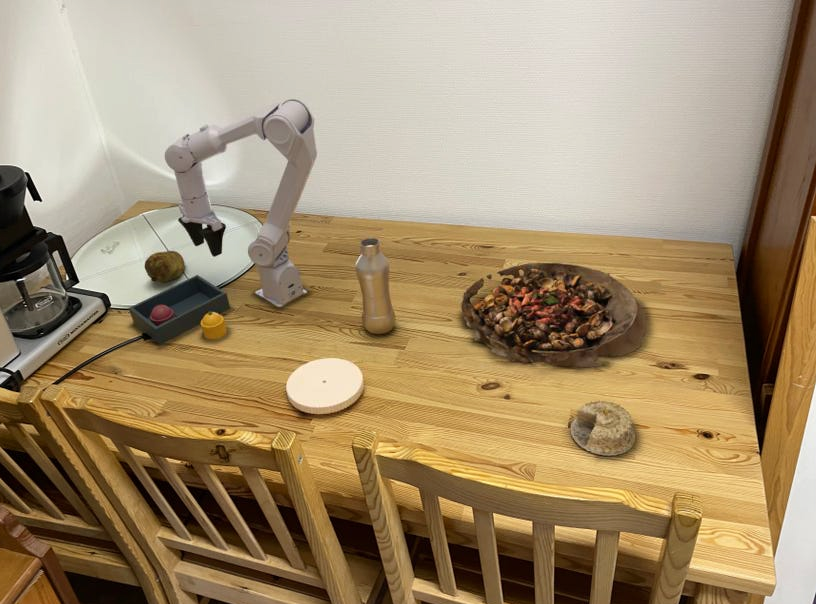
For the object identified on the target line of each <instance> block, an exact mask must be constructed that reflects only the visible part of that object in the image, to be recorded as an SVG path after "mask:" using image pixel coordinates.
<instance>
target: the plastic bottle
mask: <svg viewBox="0 0 816 604" xmlns="http://www.w3.org/2000/svg"><path fill="white" fill-rule="evenodd" d="M381 251H382V248H381V242H380V239H378V238H376V237H367V238H363V239H362V240H360V242H359V253H360V255H359V256H358V258H357V260H356V262H355V268H354V269H355V274H356V277H357V280H358V284H359V287H360V291H361V297H362V315H361V318H362V319H361V320H362V324H363V326H364V329H366V330H367V332H368V333H370V334H373V335H383V334H387V333H389V332H391V331H392V330H393V328H394V327H395V325H396V317H397V316H396V313H395V309H394V307H393V303H392V300H391V299H392V298H391V295H390V263H389V260H388V259H387V258H386V257H385V254H383V253H382V252H381Z"/></svg>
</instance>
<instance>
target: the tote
mask: <svg viewBox="0 0 816 604" xmlns="http://www.w3.org/2000/svg"><path fill="white" fill-rule="evenodd" d="M158 305H166V306H168V307H169V308H170V309H172V310H173V312H174V315H176V316H177V317H175V318H173V319H171V320H169V321H167V322H165V323H163V324H161V325H159V326H156V325H154V324H153V323H152V322H151V319H150V315H151V312H152V310H153V308H154V307H156V306H158ZM230 309H231V305H230V301H229V297H228V294H227V292H226V291H224V290H222V289H220V288H219V287H218V286H216V285H214V284H213V283H211V282H210V281H208V280H206V279H205V278H203V277H201V275H199V274H196V275H193V276H191V277H189V278H188V279H186V280H184V281H181V282H178V283H177V284H175V285H173V286H171V287H168V288H167V289H165V290H162V291H160V292H159V293H156V294H155V295H152V296H150V297H149V298H145V299H144V300H142V301H140V302H138V303H136V304H134V305H131V306H130V307H128V311H129V313H130V316H131V318H132V322H133V324H134V325H135V326H136V327H138V328H139V329H140V330H141V331H143V332H144V333H145V334H146V335H148V336H149V337H150V338H151V339H152V340H154V341H155V342H156V343H157V344H159V345H160V346H161V345H164V344H165V343H167V342H169V341H172V340H173V339H175V338H177V337H178V336H181V335H183V334H184V333H187V332H188V331H191V330H192V329H194V328H196V327H198V326H201V320H202V319H203V317H204V316H205V315H206V314H207V313H208V312H209V311H211V312H215V313H218V314H219V315H222V314H223V313H225V312H227V311H228V310H230Z"/></svg>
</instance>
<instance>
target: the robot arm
mask: <svg viewBox="0 0 816 604" xmlns="http://www.w3.org/2000/svg"><path fill="white" fill-rule="evenodd" d="M314 127H315V117H314V116H313V114H312V112H311V110H310V109H309V107H308V105H307V104H306V103H305V102H304V101H302V100H300V99H299V98H298V99H297V98H289V99H286V100H285V101H284V102H282V104H281V102H275V103H273V104H271V105H269V106H266V107H263V108H261V109H259V110H256V111H254V112H253V113H250V114H249V115H246V116H244V117H242V118H240V119H238V120H236V121H233V122H232V123H230V124H228V125H226V126H224V127H220V126H219V125H216V124H212V125H210V126H209V124H207V123H206V124H204V125H202V126H200V127H199V130H198V131H196V132H193V133H192V134H189V133H186V134H184V135H182V136H181V137H179V138H178V139H177V140H176V141H174V142H173V143H172V144H171V145H169V146H168V147H167V148H166V150H165V151H164V161H165V163H166V165H167V166H168V167H169V169H171V170H173V171H174V176H175V179H176V183H177V187H178V191H179V195H180V198H181V204H178V209H179V213H180V214H181V215H182V216H180V217H179V218H178V219H177V222H178V223H179V224H180V225H181V226H182V227H183V228H184V230H185V231H186V232H187V234H188V236H189V238H190V239H191V241H192V243H193V245H194V246H195V247H199V246H202V245H203V244H204V243H206V244H207V247H208V250H209V252H210V254H211V256H212V257H214V258H215V257H218V256H219V255H222V253H223V239H224V234H225V231H226V228H227V226H226V223H224V222H222V221H221V219H220V218H218V216H217V214H216V213H215V211H214V208H212V203H211V200H210V196H209V191H208V188H207V184H206V179H205V175H204V170H203V167H202V166H203V164H202V162H204V161H207V160H210V159H212V158H214V157H216V156H219V155H222V154H223V153H226V152H227V150H228V148H229V144H231V143H235V142H238V141H240V140H243V139H246V138H248V137H251V136H254V135H257V136H258V138H260V139H261V140H262V141H266V140H268V142H269V143H271V145H272V147H274V148H276V150H277V151H278V152H279V153H280V154H281V155H282V156H283V157H284V158H285V159H286V160H287V163H286V166H285V168H284V171H283V174H282V176H281V179H280V181H279V184H278V187H277V189H276V192H275V194H274V197H273V199H272V202H271V205H270V208H269V211H268V213H267V216H266V219H265V221H264V223H263V225H262V227H261V228H260V230H259V232H258V234H257V236H256V238H255V239H254V240H253V241H251V243H250V244H249V245H248V247H247V254H248V257H249V259H250V260H251V261H252V263H253V264H254V265H256V268H257V271H258V272H257V273H258V277H259V281H260V282H259V283H260V286H261V288H260V289H258V290H256V291H255V294H256V295H258V296H259V297H261V298H263V299H265V300H266V301H268V302H269V303H271V304H273V305H274V306H276V307H278V308H280V307H283V306H284V305H286V304H288V303H289V302H291V301H293V300H295V299H297V298H299V297H300V296H302V295H304V294H308V291H307V290H306V289H304V285H303V281H302V276H301V271H300V270H299V269H300V268H298V267H297V266H296V265H294V263H293V262H292V260H291V259H290V256H289V255H290V254H289V252H288V251H289V250H288V246H287V245H288V244H290V241H291V233H290V231H291V227H292V223H291V221H292V219H293V217H294V214H295V212H296V209H297V206H298V204H299V203H300V200H301V197H302V194H303V192H304V189H305V187H306V185H307V182H308V180H309V177H310V175H311V172H312V169H313V167H314V165H315V162H316V160H317V156H318V152H317V144H316V139H315V132H314ZM203 225H206V227H204V228H203Z"/></svg>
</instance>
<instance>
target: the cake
mask: <svg viewBox="0 0 816 604" xmlns="http://www.w3.org/2000/svg"><path fill="white" fill-rule="evenodd" d="M569 430H570V434H571V437H572V439H573V440H574V441H575V442H576V444H577V445H578V446H579V447H581V448H582V449H584V450H586V451H588V452H590V453H592V454H596V455H601V456H605V457H606V456H608V457H610V456H611V457H612V456H617V455H622V454H624V453H626V452H628V451H630V450H631V448H633V447H634V445H635V442H636V433H635V430H634V423H633V419H632V415H630V412H629V411H627V410H626V409H625V408H624V407H622V406H621V404H617V403H614V402H609V401H607V400H603V401H601V400H596V401H590V402H589V403H588V402H586V403H585V404H584V405H582V406H581V407H580V408H578V409H577V411H576V416H574V418H573V420H572V421H571V424H570V428H569Z"/></svg>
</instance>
